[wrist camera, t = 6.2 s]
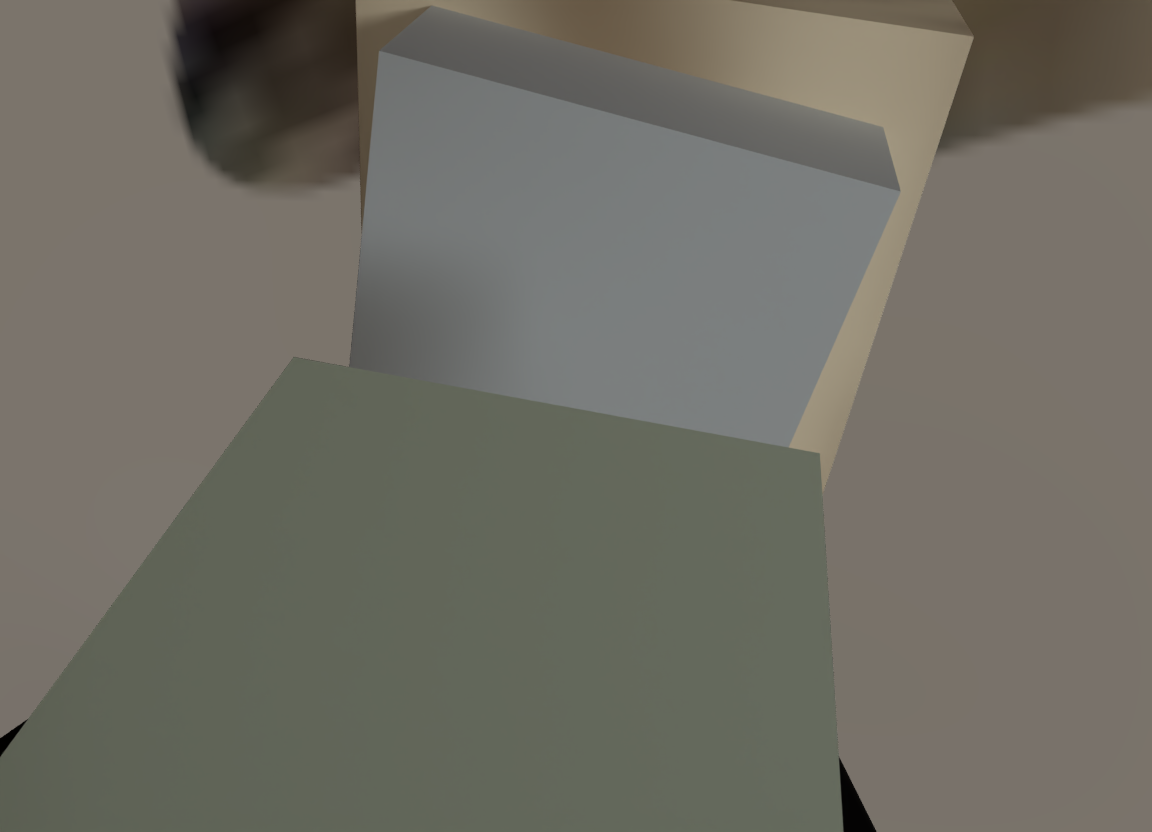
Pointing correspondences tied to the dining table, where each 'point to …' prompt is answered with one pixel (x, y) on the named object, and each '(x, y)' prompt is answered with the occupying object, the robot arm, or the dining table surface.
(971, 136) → the dining table surface
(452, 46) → the slate slab
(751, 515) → the sage cube
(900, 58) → the oak base block
